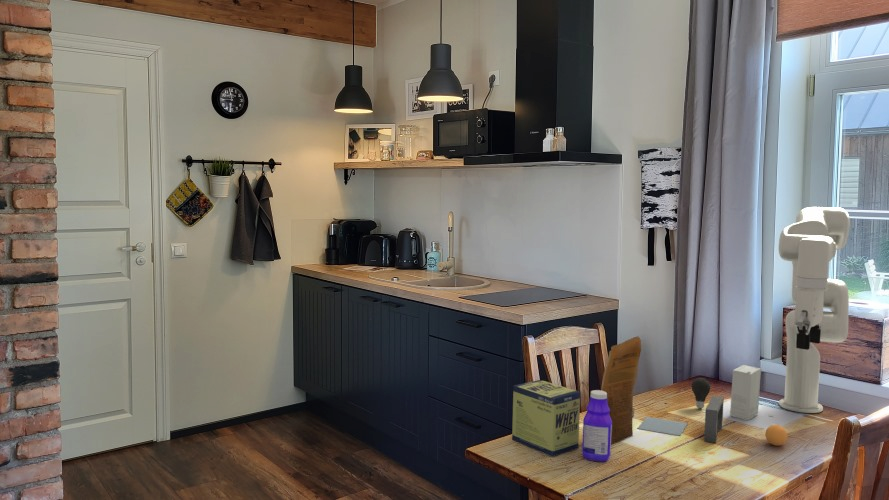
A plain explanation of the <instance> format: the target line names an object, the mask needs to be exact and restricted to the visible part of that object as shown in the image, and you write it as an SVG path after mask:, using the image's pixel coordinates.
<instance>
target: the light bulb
mask: <svg viewBox="0 0 889 500" xmlns="http://www.w3.org/2000/svg"><path fill="white" fill-rule="evenodd" d="M691 390H692V393H693V395H694V397H695V399H694V400H695V401H696V402H695V407H696V408H698V410H702V409H704V407H705V402H706V399H707V396H708V395H709V394H710V392H711V383H710V382H709V381H708V380H707V379H706V378H704V377H697V378H695V379H694V380H693V381H692V383H691Z"/></svg>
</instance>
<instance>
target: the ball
mask: <svg viewBox="0 0 889 500" xmlns="http://www.w3.org/2000/svg"><path fill="white" fill-rule="evenodd" d="M764 436H765V439H766V441H767V442H768V443H769V444H770V445H773V446H775V447H776V446H777V447H778V446H782V445H784V444H786V442H787V440H788V432H787V430H786V428H784V427H783V426H781V425H779V424H772V425H770V426H768V427H767V428H766V430H765V431H764Z"/></svg>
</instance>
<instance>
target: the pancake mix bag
mask: <svg viewBox="0 0 889 500" xmlns="http://www.w3.org/2000/svg"><path fill="white" fill-rule="evenodd" d="M610 349H611V350H609V352H608V356H607V359H606V360H607V361H606V365H605V368H604V372H603V376H602V382H601V390H600V391H605V392H606V393H607V404H608V407H609V409H610V411H609V415H610V418H611V421H612V430H611V445H613V444H614V445H615V444H616V443H619V442H620V441H623V440H625V439H628V438H630V437H633V434H634V433H633V421H634V420H633V419H634V417H633V408H634V406H633V402H634V401H633V400H634V389H635V385H636V381H637V378H638V371H639V369H638V368H639V362H640V361H639V360H640V358H641V352H642V340H641V338H640V337H639V335H637V336H635V337H632V338H629V339H627V340H625V341H623V342H622V343H621V342H620V343H618V344H615V345H612V346H611V347H610Z"/></svg>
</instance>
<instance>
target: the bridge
mask: <svg viewBox="0 0 889 500" xmlns="http://www.w3.org/2000/svg"><path fill="white" fill-rule="evenodd" d="M724 399H725V398H724V396H718V395H712V396H711V398H710V400H709V402H708V404H707V406H706V407H705V410H704V411H705V412H704V414H705V415H704V438H703V442H704V443H710V444H717V442H718V438H717V437H718V430H719V431H722V430H723V422H724V421H723V420H724V402H725V401H724Z"/></svg>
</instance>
